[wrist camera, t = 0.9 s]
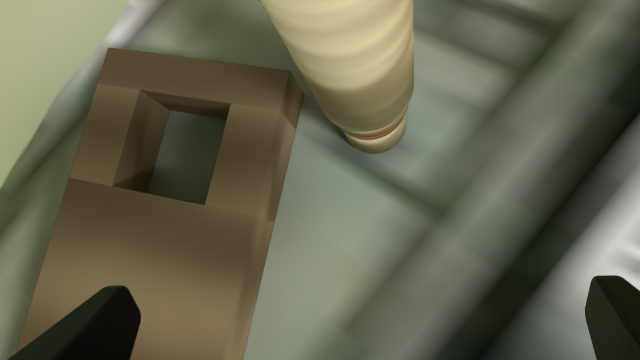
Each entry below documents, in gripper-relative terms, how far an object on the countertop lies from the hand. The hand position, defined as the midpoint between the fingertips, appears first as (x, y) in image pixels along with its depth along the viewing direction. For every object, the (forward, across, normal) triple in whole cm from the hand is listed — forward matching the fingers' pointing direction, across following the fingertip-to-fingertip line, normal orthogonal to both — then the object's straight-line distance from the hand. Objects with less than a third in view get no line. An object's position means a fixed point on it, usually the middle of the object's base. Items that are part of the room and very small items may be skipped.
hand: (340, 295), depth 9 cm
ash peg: (+15, 0, +4) cm, 16 cm away
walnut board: (+9, +12, +10) cm, 18 cm away
